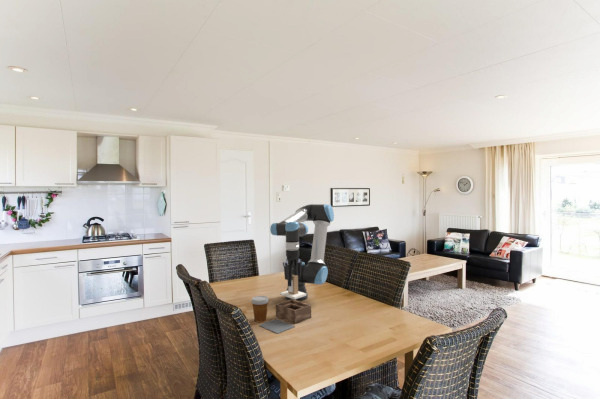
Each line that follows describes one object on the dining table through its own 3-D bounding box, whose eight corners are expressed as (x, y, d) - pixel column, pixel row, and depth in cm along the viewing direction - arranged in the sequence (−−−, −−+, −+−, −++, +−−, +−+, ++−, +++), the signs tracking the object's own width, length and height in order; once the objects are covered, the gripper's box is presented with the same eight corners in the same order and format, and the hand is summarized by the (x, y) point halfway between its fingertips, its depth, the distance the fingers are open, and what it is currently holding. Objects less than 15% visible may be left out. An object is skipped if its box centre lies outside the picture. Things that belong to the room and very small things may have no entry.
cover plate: (280, 294, 187) (279, 275, 187) (291, 291, 194) (291, 272, 193) (294, 299, 179) (294, 278, 178) (306, 295, 185) (306, 275, 185)
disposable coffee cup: (252, 324, 177) (252, 301, 177) (250, 317, 186) (250, 296, 186) (270, 322, 179) (270, 300, 179) (267, 315, 189) (267, 294, 188)
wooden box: (275, 316, 187) (275, 304, 187) (292, 310, 196) (291, 299, 196) (295, 324, 176) (295, 310, 176) (311, 317, 185) (311, 305, 185)
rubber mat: (258, 325, 174) (258, 325, 174) (276, 319, 183) (276, 318, 183) (277, 334, 164) (277, 333, 164) (295, 326, 172) (295, 326, 172)
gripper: (286, 252, 177) (287, 295, 178) (307, 248, 189) (307, 289, 189) (277, 250, 182) (278, 292, 183) (298, 246, 194) (298, 286, 194)
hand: (293, 290), depth 186 cm, fingers closed on cover plate, 3 cm apart
